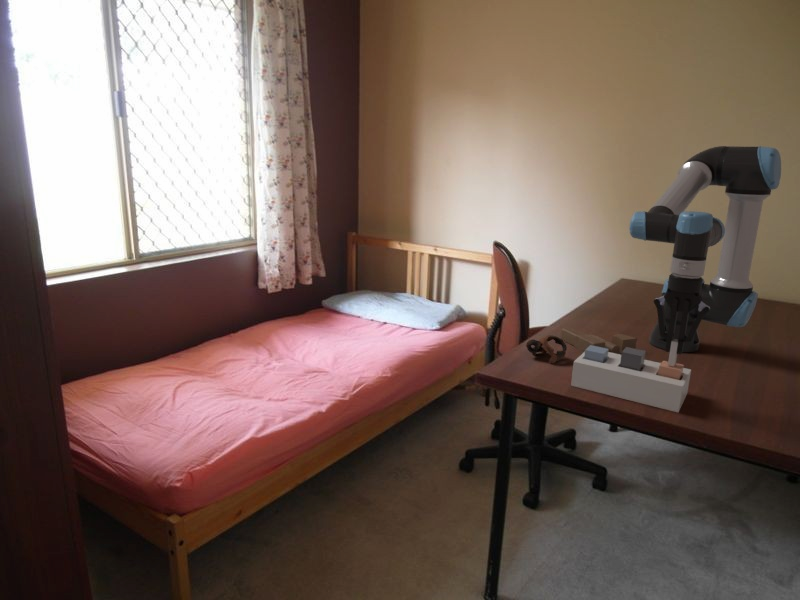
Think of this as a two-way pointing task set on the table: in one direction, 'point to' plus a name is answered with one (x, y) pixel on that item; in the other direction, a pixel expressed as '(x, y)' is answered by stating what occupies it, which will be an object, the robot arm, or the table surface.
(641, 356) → the charcoal key
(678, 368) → the terracotta key
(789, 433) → the table surface
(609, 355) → the key console
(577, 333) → the wooden block set
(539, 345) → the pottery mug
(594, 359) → the slate key
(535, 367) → the table surface
